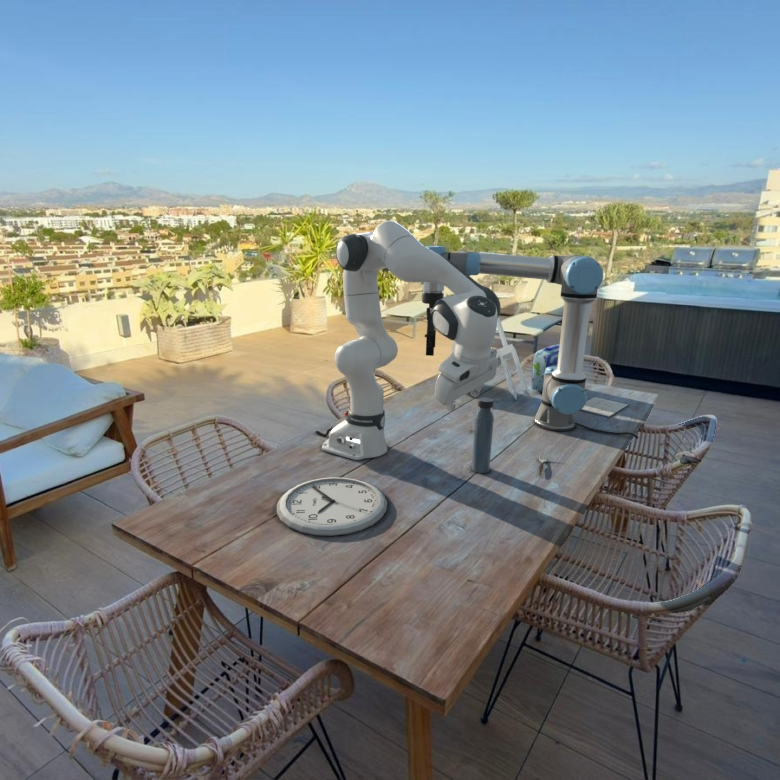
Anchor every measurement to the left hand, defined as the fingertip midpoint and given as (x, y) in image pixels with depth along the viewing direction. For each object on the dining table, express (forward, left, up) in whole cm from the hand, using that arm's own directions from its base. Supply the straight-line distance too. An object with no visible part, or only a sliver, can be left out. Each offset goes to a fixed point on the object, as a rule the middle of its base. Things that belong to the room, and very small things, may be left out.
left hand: (462, 402), depth 139 cm
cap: (+2, +22, -6) cm, 22 cm away
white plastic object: (-15, +102, -29) cm, 107 cm away
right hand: (-23, +48, +2) cm, 53 cm away
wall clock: (-31, -17, -29) cm, 45 cm away
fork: (+20, +31, -29) cm, 47 cm away
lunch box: (+16, +121, -29) cm, 126 cm away
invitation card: (+39, +103, -29) cm, 114 cm away
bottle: (+2, +22, -29) cm, 36 cm away
